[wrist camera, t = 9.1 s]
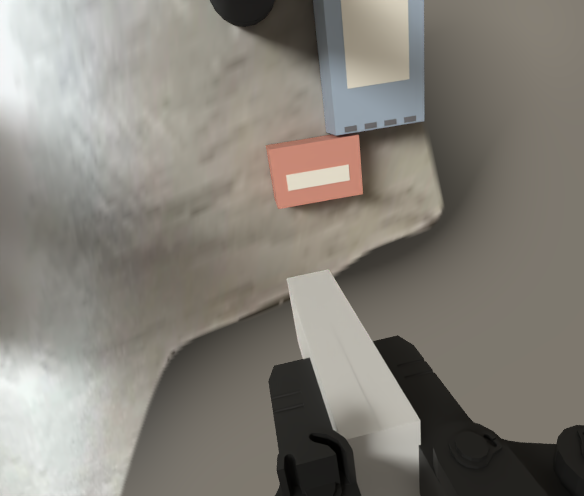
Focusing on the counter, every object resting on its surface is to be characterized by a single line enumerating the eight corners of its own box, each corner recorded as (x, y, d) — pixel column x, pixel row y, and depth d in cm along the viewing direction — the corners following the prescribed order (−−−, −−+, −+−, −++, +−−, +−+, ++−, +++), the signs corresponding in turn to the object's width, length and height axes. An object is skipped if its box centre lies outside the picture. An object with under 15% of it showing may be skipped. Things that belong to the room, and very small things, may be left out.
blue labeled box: (326, 132, 40) (336, 135, 35) (310, -23, 34) (319, -40, 30) (406, 119, 40) (424, 121, 36) (402, -35, 35) (424, -53, 31)
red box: (274, 199, 41) (278, 209, 38) (265, 145, 39) (268, 149, 35) (352, 186, 42) (363, 194, 38) (347, 131, 40) (359, 134, 36)
